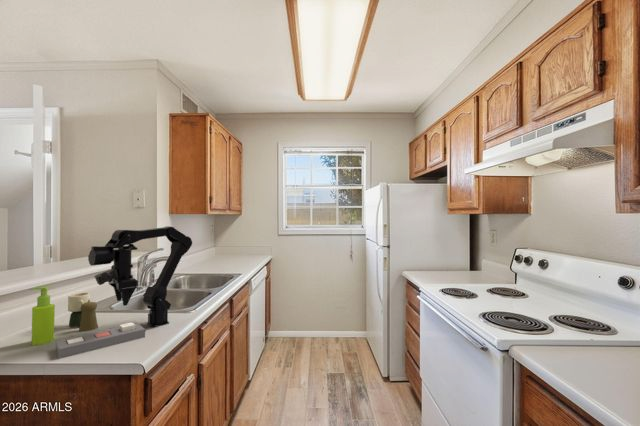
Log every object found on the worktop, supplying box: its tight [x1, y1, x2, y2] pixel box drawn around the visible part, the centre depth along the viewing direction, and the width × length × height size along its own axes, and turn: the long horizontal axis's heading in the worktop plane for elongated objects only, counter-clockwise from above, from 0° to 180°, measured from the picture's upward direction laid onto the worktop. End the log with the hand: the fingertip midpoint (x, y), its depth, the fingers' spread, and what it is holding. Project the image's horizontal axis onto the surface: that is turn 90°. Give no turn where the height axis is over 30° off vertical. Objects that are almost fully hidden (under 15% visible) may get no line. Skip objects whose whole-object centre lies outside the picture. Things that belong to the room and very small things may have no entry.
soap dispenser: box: [29, 286, 56, 346], centre depth 107 cm, size 6×7×20 cm
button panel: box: [55, 322, 146, 360], centre depth 105 cm, size 24×10×4 cm, turn 136°
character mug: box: [67, 292, 91, 328], centre depth 124 cm, size 11×7×13 cm, turn 51°
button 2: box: [119, 322, 135, 332], centre depth 111 cm, size 4×4×3 cm
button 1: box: [67, 337, 84, 345], centre depth 100 cm, size 4×4×3 cm
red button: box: [95, 332, 111, 338], centre depth 105 cm, size 4×4×3 cm
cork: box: [78, 301, 99, 332], centre depth 119 cm, size 6×6×11 cm
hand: (121, 303), depth 115 cm, fingers open, 9 cm apart
